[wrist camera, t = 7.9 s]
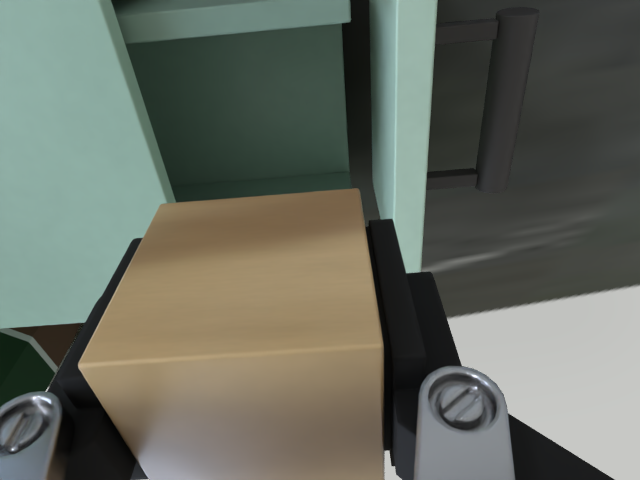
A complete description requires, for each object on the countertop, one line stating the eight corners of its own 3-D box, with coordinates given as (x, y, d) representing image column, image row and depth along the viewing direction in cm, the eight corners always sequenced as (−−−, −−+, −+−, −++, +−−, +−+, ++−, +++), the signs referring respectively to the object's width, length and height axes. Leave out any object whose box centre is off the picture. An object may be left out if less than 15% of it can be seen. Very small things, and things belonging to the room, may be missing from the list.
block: (159, 202, 10) (74, 365, 6) (359, 186, 10) (384, 346, 6) (206, 337, 13) (164, 506, 9) (365, 327, 12) (384, 495, 9)
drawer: (501, -73, 18) (598, -60, 12) (469, 175, 25) (522, 265, 19) (75, -29, 19) (-39, 4, 13) (156, 201, 26) (107, 296, 20)
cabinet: (177, -58, 19) (88, -32, 12) (235, 195, 27) (204, 314, 19) (-152, -24, 20) (-444, 23, 12) (-5, 215, 27) (-128, 338, 20)
